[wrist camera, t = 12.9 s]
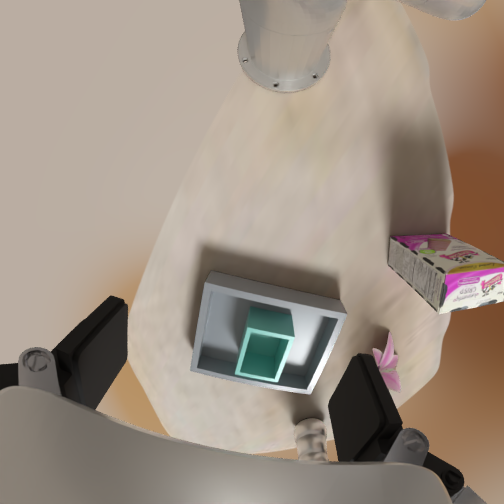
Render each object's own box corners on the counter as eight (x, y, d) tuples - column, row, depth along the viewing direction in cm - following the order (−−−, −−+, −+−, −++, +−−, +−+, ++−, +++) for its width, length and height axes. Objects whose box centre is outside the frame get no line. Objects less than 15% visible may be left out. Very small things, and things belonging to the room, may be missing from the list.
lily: (387, 379, 48) (422, 391, 39) (340, 403, 45) (373, 422, 36) (384, 323, 49) (421, 329, 40) (333, 343, 45) (370, 355, 36)
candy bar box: (446, 231, 38) (512, 264, 23) (443, 260, 40) (504, 303, 24) (387, 233, 39) (446, 273, 24) (386, 265, 41) (438, 317, 25)
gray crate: (211, 270, 42) (204, 282, 38) (340, 299, 43) (347, 313, 38) (195, 354, 47) (190, 370, 43) (307, 377, 47) (310, 394, 43)
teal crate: (250, 306, 43) (247, 327, 37) (291, 315, 43) (294, 337, 37) (238, 350, 45) (234, 374, 39) (276, 358, 45) (277, 382, 39)
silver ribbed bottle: (321, 432, 52) (332, 508, 33) (290, 432, 52) (294, 511, 33) (328, 414, 50) (342, 495, 31) (295, 414, 50) (301, 498, 31)
